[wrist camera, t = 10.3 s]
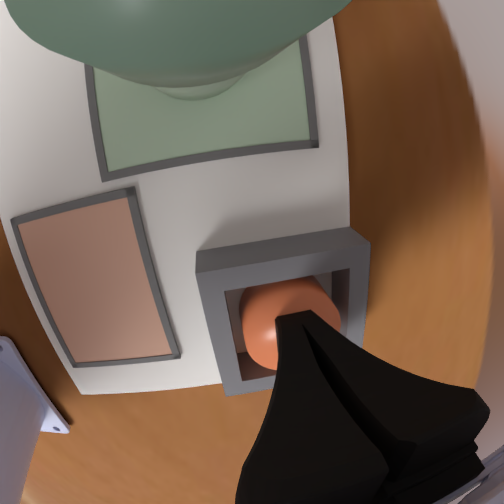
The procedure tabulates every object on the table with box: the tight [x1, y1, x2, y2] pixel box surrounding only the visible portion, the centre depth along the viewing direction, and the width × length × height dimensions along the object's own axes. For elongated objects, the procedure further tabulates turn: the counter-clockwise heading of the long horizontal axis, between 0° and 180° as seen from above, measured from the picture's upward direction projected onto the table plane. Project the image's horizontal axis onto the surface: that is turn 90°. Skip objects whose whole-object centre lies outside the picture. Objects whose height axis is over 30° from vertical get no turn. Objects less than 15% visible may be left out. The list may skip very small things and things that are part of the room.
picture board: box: [0, 0, 371, 396], centre depth 10 cm, size 14×20×2 cm
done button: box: [239, 275, 341, 370], centre depth 12 cm, size 4×4×2 cm
